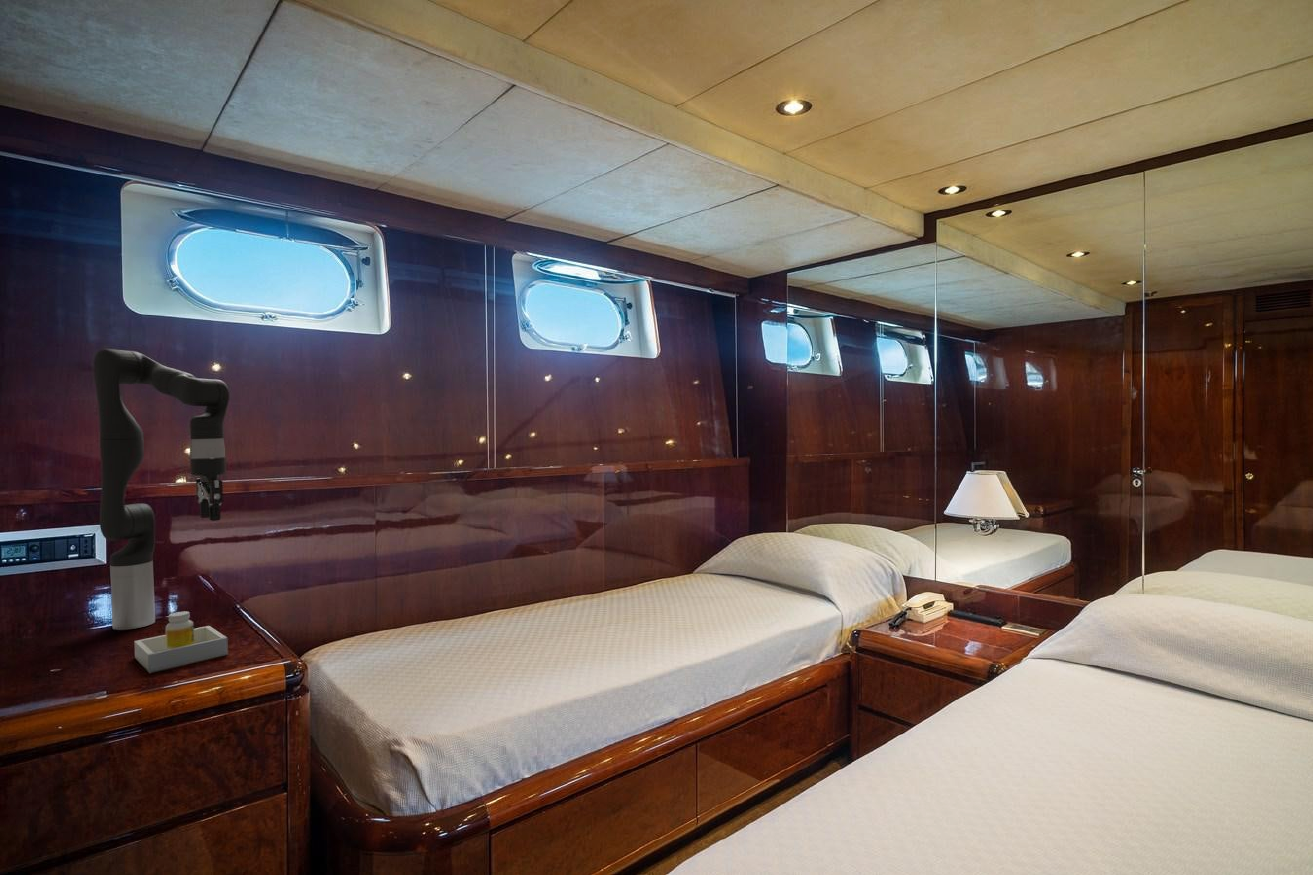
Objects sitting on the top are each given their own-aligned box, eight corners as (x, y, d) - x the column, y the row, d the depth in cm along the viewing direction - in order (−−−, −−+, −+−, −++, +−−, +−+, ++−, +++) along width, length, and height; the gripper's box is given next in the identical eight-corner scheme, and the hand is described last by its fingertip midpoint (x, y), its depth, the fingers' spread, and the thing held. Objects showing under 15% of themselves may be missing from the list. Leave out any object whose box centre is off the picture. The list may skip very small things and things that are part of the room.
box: (135, 657, 157) (134, 641, 157) (209, 641, 168) (209, 625, 168) (149, 673, 147) (148, 654, 146) (228, 654, 158) (227, 637, 158)
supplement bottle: (164, 654, 157) (162, 614, 157) (191, 648, 161) (189, 609, 161) (169, 659, 153) (167, 618, 153) (197, 653, 157) (195, 613, 157)
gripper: (183, 456, 174) (185, 518, 175) (198, 457, 165) (200, 523, 165) (216, 455, 180) (219, 515, 180) (233, 456, 170) (235, 519, 171)
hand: (210, 519), depth 173 cm, fingers open, 8 cm apart
